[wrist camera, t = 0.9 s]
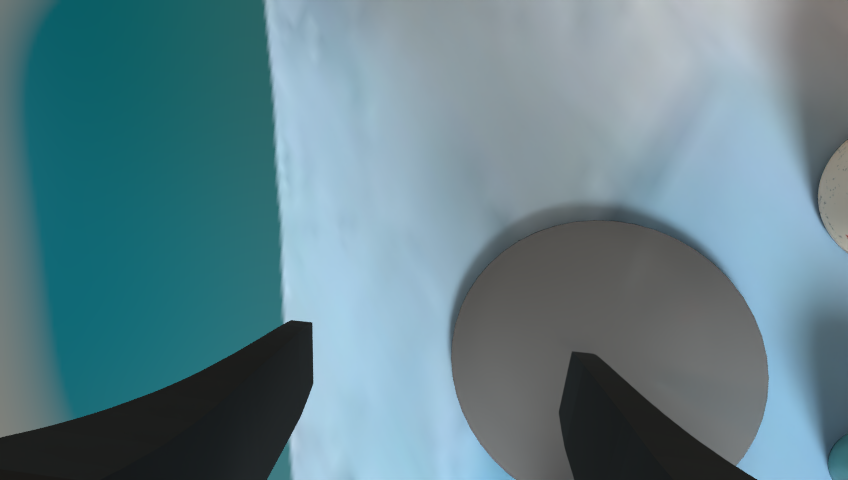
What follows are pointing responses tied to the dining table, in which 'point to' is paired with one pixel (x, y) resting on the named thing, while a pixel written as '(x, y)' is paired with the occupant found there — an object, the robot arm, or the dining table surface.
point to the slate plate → (605, 341)
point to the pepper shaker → (839, 460)
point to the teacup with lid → (835, 196)
